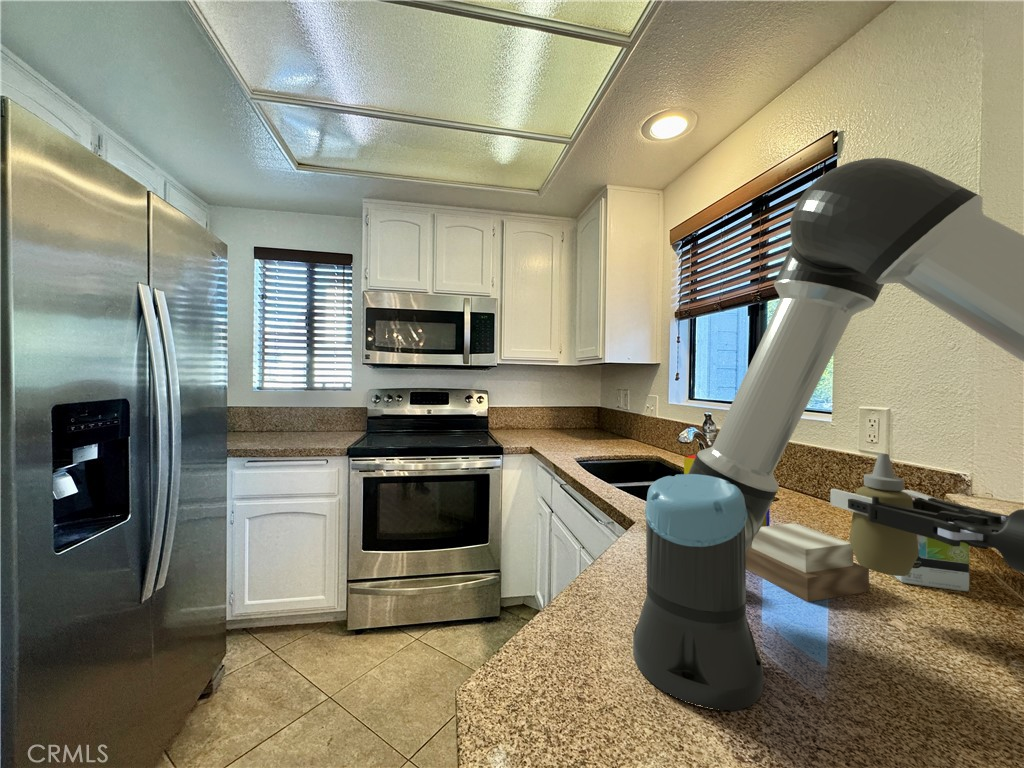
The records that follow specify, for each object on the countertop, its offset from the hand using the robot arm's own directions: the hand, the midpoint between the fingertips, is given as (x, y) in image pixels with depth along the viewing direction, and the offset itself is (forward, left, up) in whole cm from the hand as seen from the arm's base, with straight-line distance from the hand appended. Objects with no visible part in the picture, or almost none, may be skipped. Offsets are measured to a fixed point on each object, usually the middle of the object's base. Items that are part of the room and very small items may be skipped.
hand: (848, 495), depth 67 cm
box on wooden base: (0, +8, -18) cm, 20 cm away
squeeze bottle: (0, -5, -10) cm, 11 cm away
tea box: (+24, +5, -18) cm, 30 cm away
